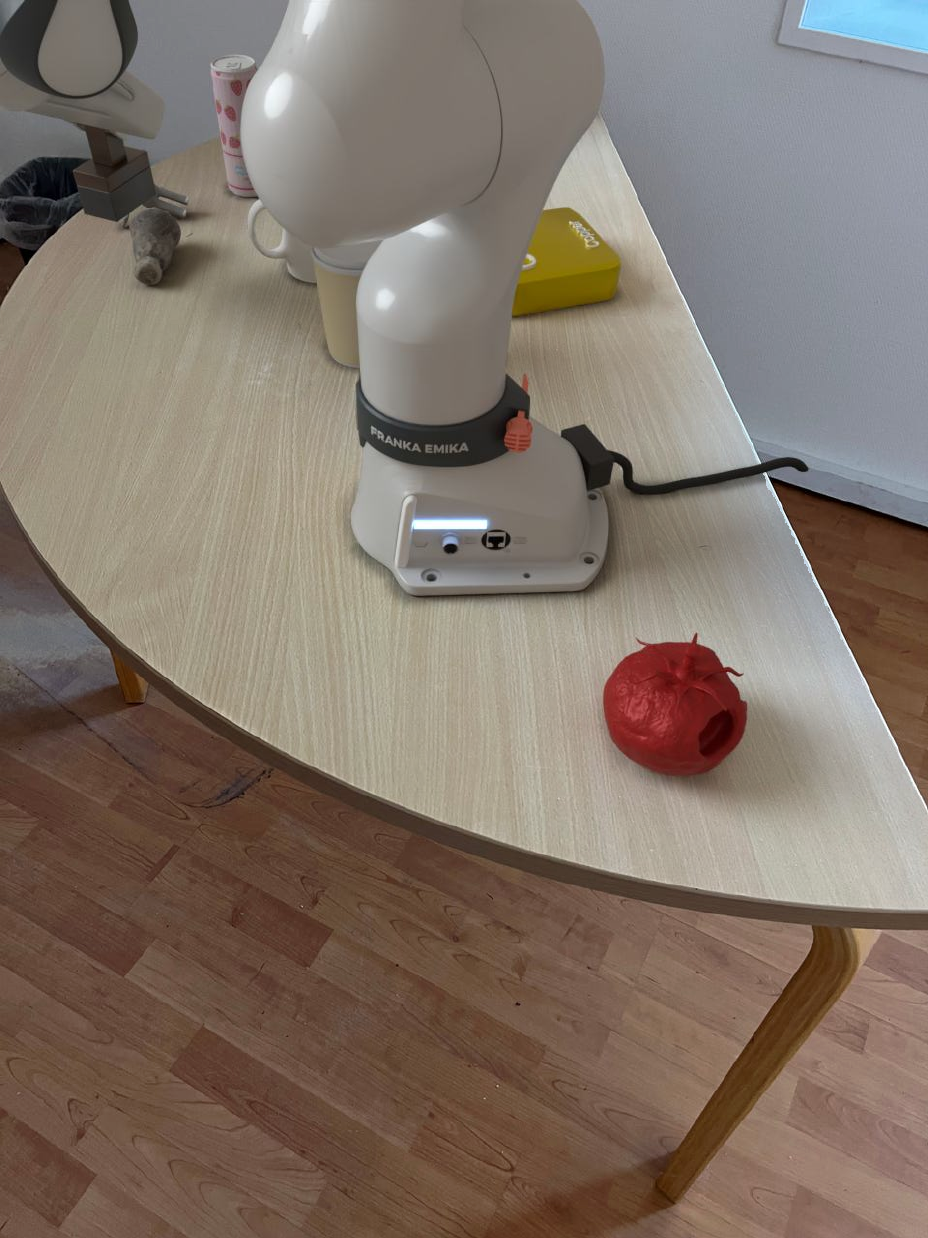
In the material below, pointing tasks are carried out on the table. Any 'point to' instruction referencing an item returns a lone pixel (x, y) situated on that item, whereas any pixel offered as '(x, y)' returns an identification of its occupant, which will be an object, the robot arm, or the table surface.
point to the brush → (113, 177)
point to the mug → (285, 249)
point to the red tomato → (674, 708)
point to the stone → (153, 243)
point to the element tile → (565, 265)
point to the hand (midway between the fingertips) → (106, 127)
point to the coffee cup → (341, 296)
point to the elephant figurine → (162, 204)
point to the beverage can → (233, 115)
